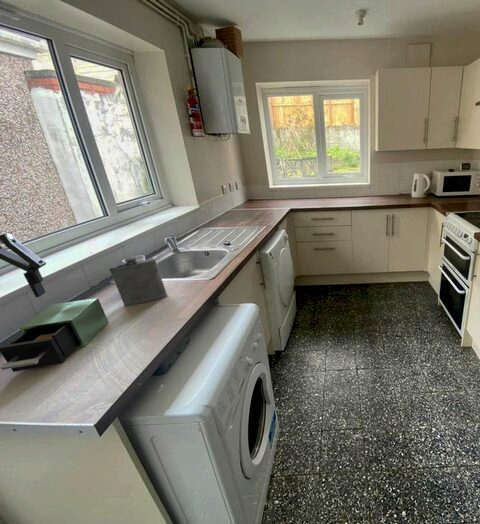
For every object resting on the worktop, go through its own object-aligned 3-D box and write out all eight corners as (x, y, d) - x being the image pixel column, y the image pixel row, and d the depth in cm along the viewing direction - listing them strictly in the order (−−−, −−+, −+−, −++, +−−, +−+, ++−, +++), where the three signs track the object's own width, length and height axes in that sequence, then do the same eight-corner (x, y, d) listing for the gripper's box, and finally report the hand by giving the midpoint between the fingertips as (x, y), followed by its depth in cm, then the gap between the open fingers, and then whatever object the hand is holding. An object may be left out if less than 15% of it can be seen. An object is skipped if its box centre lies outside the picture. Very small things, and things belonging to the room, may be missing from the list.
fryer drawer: (52, 374, 75) (38, 350, 72) (-1, 384, 72) (-18, 359, 69) (89, 336, 90) (79, 315, 87) (47, 343, 88) (35, 321, 85)
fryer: (84, 346, 86) (71, 320, 83) (35, 355, 84) (19, 327, 80) (108, 322, 99) (98, 297, 95) (66, 328, 96) (53, 304, 92)
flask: (166, 297, 113) (152, 255, 106) (123, 307, 107) (104, 263, 101) (167, 294, 116) (153, 252, 109) (125, 303, 111) (107, 260, 104)
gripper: (38, 207, 70) (75, 284, 78) (-106, 220, 63) (-49, 304, 71) (18, 212, 64) (60, 296, 72) (-145, 229, 56) (-78, 320, 64)
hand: (6, 300), depth 71 cm, fingers open, 13 cm apart
